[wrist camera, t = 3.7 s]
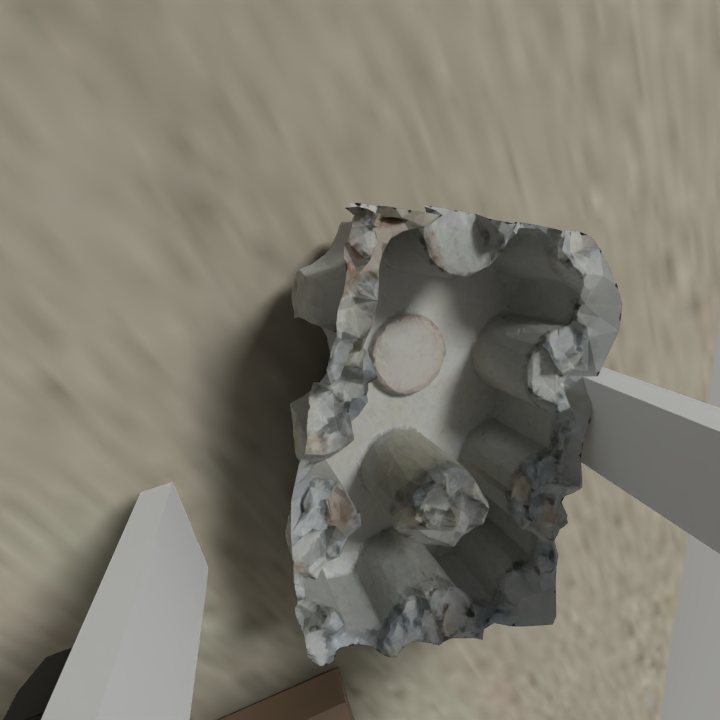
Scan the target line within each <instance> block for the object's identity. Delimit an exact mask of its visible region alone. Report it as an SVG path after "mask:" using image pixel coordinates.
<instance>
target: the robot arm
mask: <svg viewBox="0 0 720 720" xmlns="http://www.w3.org/2000/svg"><path fill="white" fill-rule="evenodd" d="M583 379H584V382H585V386H586V389H587V394H588V396H589V398H590V400H591V420H590V423H589V426H588V430H587V433H586V436H585V439H584V442H583V447H582V453H581V462H582V463H583V464H585V465H586V466H588V467H590V468H591V469H593V470H594V471H596V472H597V473H599V474H600V475H602V476H603V477H605V478H606V479H608V480H609V481H611V482H612V483H614V484H615V485H617V486H618V487H620V488H621V489H623V490H624V491H626V492H627V493H629V494H630V495H632V496H633V497H635V498H636V499H638V500H639V501H641V502H642V503H644V504H645V505H647V506H648V507H650V508H651V509H653V510H654V511H656V512H657V513H659V514H660V515H662V516H663V517H665V518H667V519H668V520H670V521H671V522H673V523H674V524H676V525H677V526H679V527H680V528H682V529H683V530H685V531H686V532H688V533H689V534H691V535H692V536H694V537H695V538H697V539H698V540H700V541H701V542H703V543H704V544H706V545H707V546H709V547H710V548H712V549H713V550H715V551H716V552H718V553H720V408H718V407H715V406H712V405H710V404H707V403H704V402H701V401H698V400H695V399H693V398H690V397H687V396H684V395H681V394H678V393H675V392H673V391H670V390H667V389H664V388H661V387H658V386H656V385H653V384H650V383H647V382H644V381H641V380H638V379H636V378H633V377H630V376H627V375H624V374H621V373H619V372H616V371H613V370H610V369H607V368H604V367H602V368H601V370H600V373H599V375H598V376H593V377H583ZM208 570H209V568H208V565H207V563H206V561H205V558H204V556H203V553H202V551H201V549H200V546H199V544H198V541H197V539H196V537H195V534H194V532H193V529H192V527H191V524H190V522H189V520H188V517H187V515H186V512H185V510H184V508H183V505H182V503H181V500H180V498H179V496H178V493H177V491H176V488H175V486H174V484H173V482H171V483H168V484H165V485H162V486H159V487H155V488H152V489H149V490H146V491H143V492H141V493H140V495H139V497H138V499H137V502H136V504H135V506H134V509H133V511H132V513H131V515H130V518H129V520H128V522H127V525H126V527H125V529H124V531H123V534H122V536H121V538H120V541H119V543H118V545H117V547H116V550H115V552H114V554H113V556H112V559H111V561H110V563H109V566H108V568H107V570H106V572H105V575H104V577H103V579H102V582H101V584H100V586H99V588H98V591H97V593H96V595H95V597H94V600H93V602H92V604H91V607H90V609H89V611H88V613H87V616H86V618H85V620H84V623H83V625H82V627H81V629H80V632H79V634H78V636H77V638H76V641H75V643H74V645H73V648H70V649H67V650H65V651H62V652H59V653H56V654H54V655H51V656H48V657H46V658H45V659H44V661H43V662H42V663H41V664H40V666H39V667H38V668H37V669H36V670H35V672H34V673H33V674H32V675H31V677H30V678H29V679H28V680H27V681H26V683H25V684H24V685H23V686H22V687H21V689H20V690H19V691H18V692H17V694H16V696H15V698H14V700H13V702H12V704H11V706H10V708H9V710H8V712H7V714H6V716H5V718H4V719H3V720H190V712H191V704H192V696H193V688H194V680H195V673H196V665H197V657H198V649H199V641H200V633H201V625H202V617H203V609H204V602H205V594H206V586H207V578H208Z"/></svg>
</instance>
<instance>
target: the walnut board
mask: <svg viewBox="0 0 720 720" xmlns="http://www.w3.org/2000/svg"><path fill="white" fill-rule="evenodd" d="M220 720H354V718H353V715H352V712H351V708H350V705H349V702H348V699H347V696H346V693H345V690H344V687H343V683H342V680H341V677H340V674H339V671H338V668H336V669H333V670H331V671H329V672H327V673H324V674H322V675H320V676H318V677H315V678H313V679H311V680H308V681H306V682H304V683H302V684H299V685H297V686H295V687H293V688H290V689H288V690H286V691H283V692H281V693H279V694H277V695H274V696H272V697H270V698H268V699H265V700H263V701H261V702H258V703H256V704H254V705H252V706H249V707H247V708H245V709H243V710H240V711H238V712H236V713H234V714H231V715H229V716H227V717H224V718H222V719H220Z"/></svg>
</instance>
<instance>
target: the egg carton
mask: <svg viewBox="0 0 720 720" xmlns="http://www.w3.org/2000/svg"><path fill="white" fill-rule="evenodd" d="M346 209H347V210H348V211H350V212H351V213H352V214H353V215H355V216H354V217H353V219H352V221H349V222H342V223H341V224H340V226H339V230H338V232H337V235H336V237H335V239H334V242H333V244H332V246H331V248H330V249H329V250H328V251H327V252H326V253H325V255H324V256H322V257H321V258H320V259H318V260H317V261H315V262H314V263H313V264H311V265H308V266H305V267H302V268H300V269H299V271H298V272H297V274H296V277H295V279H294V283H293V288H292V293H291V294H292V305H293V309H294V318H297V317H300V318H302V319H304V320H306V321H308V322H309V323H311V324H314V325H317V326H320V327H321V328H322V329H323V331H324V332H325V334H326V336H327V340H328V345H329V351H330V359H329V363H328V366H327V370H326V375H325V376H324V378H323V379H322V380H321V381H320V383H316V382H313V384H312V388H311V391H310V392H309V393H307V394H306V395H304V396H303V397H301V398H299V399H297V400H295V401H293V402H292V403H290V407H291V414H292V422H293V438H294V442H295V454H296V457H297V458H298V459H299V461H300V462H299V466H298V471H297V476H296V481H295V485H294V490H293V495H292V499H291V514H290V515H289V516H288V522H287V527H286V531H285V537H286V541H287V544H288V547H289V551H290V553H291V555H292V557H293V571H294V586H295V591H296V595H297V605H296V607H295V614H296V617H297V620H298V622H299V625H300V627H301V629H302V631H303V634H304V637H305V643H306V648H307V652H308V654H307V656H308V658H309V659H310V660H311V661H312V662H314V663H316V664H317V665H319V666H323V665H327V664H329V663H331V662H332V661H333V660H334V658H335V651H336V650H338V649H339V648H340V647H345V646H350V645H355V644H361V645H368V646H373V647H374V648H375V649H376V650H378V651H379V652H380V653H382V654H383V655H385V656H388V657H397V655H398V654H399V652H400V651H401V649H402V648H404V647H405V646H406V645H407V644H409V643H410V642H415V641H420V642H427V643H432V644H433V645H434V644H437V645H440V644H441V643H442V642H444V641H446V640H448V639H450V638H477V639H483V631H484V629H485V628H486V627H488V626H490V625H492V624H493V623H497V624H502V625H507V626H537V625H552V624H553V622H554V620H555V618H556V567H557V559H558V553H557V549H556V545H555V541H554V540H555V538H556V536H557V535H558V532H559V529H561V528H562V527H564V526H565V525H566V524H567V523H568V522H567V514H566V512H565V509H564V507H563V505H562V503H561V502H562V500H563V498H564V496H566V495H569V494H571V493H574V492H576V491H577V490H579V489H580V488H582V471H581V453H582V447H583V442H584V439H585V436H586V433H587V430H588V426H589V423H590V420H591V400H590V398H589V396H588V394H587V389H586V386H585V382H584V379H583V377H593V376H598V375H599V373H600V370H601V368H602V366H603V364H604V362H605V360H606V358H607V355H608V353H609V351H610V349H611V347H612V345H613V342H614V340H615V338H616V336H617V334H618V332H619V327H620V319H621V311H622V302H621V298H620V294H619V290H618V286H617V284H616V282H615V280H614V278H613V276H612V274H611V271H610V269H609V267H608V265H607V263H606V261H605V259H604V257H603V254H602V252H601V250H600V248H599V247H598V245H597V244H596V243H595V241H594V240H593V238H592V237H591V236H588V235H586V234H583V233H581V232H576V231H560V230H556V229H552V228H548V227H543V226H538V225H532V224H526V223H518V222H515V224H514V223H508V222H503V221H497V220H492V219H488V218H485V217H482V216H480V215H477V214H469V213H466V212H461V211H455V210H451V209H445V208H438V207H432V206H425V209H426V212H420V211H411V210H405V209H399V208H393V207H387V206H375V205H368V204H360V203H350V204H348V205H347V206H346Z"/></svg>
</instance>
